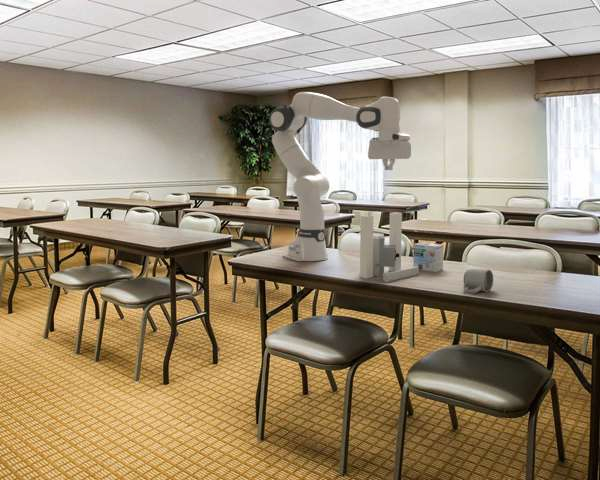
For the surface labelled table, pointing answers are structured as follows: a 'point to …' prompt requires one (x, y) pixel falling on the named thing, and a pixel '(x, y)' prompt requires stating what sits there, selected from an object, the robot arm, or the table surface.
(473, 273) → the ceramic mug
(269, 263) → the table surface
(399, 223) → the post
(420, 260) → the light bulb box
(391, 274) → the bar
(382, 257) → the circuit breaker
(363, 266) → the post
